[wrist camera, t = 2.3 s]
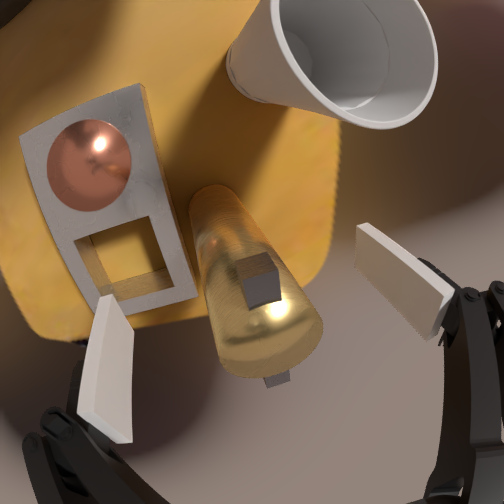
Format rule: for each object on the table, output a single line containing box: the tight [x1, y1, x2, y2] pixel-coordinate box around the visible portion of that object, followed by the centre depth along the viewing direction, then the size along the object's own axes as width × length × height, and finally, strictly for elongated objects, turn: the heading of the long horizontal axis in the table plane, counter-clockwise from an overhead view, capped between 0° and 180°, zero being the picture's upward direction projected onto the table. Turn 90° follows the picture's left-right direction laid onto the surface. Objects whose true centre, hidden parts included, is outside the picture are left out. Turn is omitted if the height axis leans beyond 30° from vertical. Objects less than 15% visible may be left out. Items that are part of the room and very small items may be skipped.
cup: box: [226, 0, 438, 129], centre depth 12 cm, size 8×8×12 cm
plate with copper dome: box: [19, 83, 199, 316], centre depth 17 cm, size 16×9×3 cm, turn 9°
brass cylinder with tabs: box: [189, 184, 323, 388], centre depth 15 cm, size 6×4×14 cm, turn 9°
